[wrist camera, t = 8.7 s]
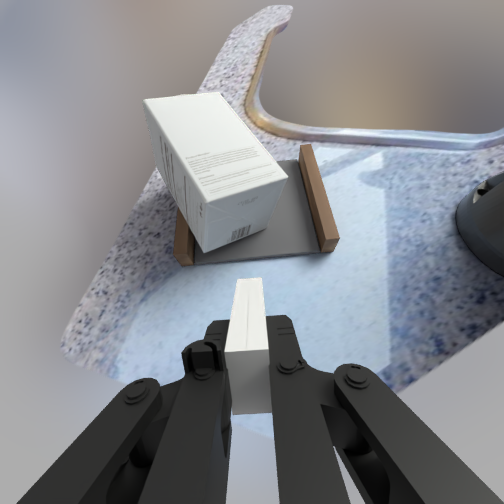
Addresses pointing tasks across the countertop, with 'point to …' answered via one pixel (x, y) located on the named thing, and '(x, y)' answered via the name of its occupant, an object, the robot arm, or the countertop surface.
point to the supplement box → (213, 167)
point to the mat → (274, 228)
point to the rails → (317, 204)
